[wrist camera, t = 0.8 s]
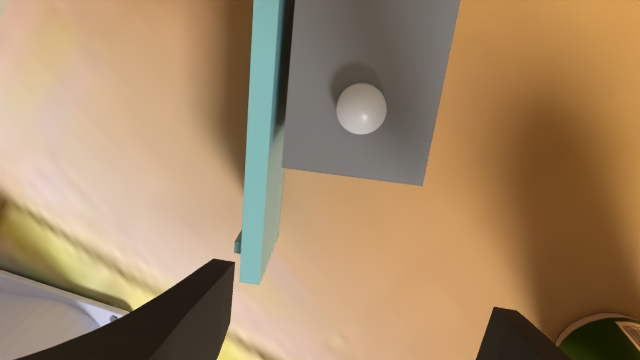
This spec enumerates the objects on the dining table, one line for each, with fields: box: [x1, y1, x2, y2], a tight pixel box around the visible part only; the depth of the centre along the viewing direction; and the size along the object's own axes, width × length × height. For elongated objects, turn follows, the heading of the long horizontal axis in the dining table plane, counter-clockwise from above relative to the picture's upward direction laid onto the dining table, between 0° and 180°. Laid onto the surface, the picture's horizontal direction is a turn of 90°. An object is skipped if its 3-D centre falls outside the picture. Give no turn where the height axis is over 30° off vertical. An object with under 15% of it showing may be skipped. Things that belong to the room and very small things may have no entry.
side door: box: [234, 0, 295, 285], centre depth 17 cm, size 12×1×4 cm, turn 174°
